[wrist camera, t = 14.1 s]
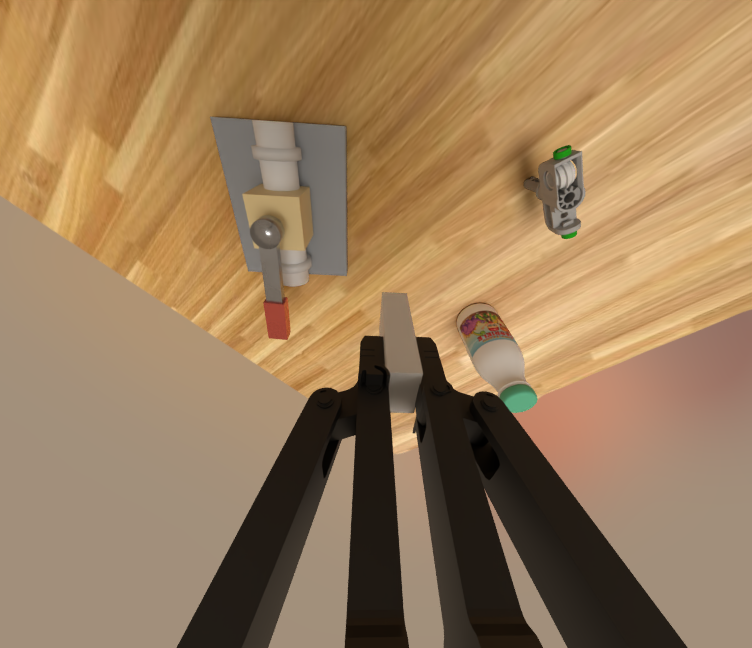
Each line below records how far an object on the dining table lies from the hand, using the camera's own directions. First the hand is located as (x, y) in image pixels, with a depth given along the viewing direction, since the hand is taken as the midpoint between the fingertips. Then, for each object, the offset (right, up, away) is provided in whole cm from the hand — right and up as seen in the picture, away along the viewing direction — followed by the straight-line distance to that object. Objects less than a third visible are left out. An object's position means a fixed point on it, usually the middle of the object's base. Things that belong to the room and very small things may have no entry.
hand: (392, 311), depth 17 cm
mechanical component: (+21, +20, +21) cm, 36 cm away
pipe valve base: (-13, +17, +23) cm, 31 cm away
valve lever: (-14, +5, +18) cm, 23 cm away
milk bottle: (+18, 0, +36) cm, 40 cm away
